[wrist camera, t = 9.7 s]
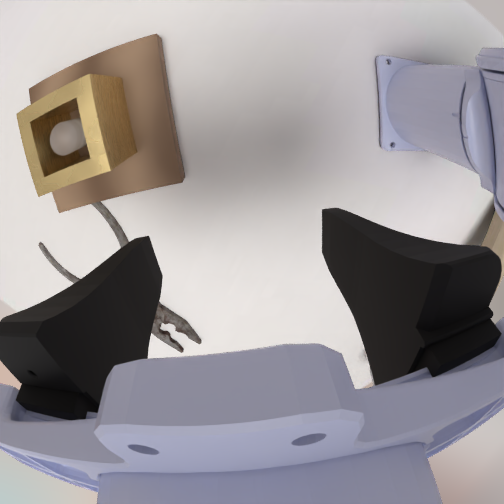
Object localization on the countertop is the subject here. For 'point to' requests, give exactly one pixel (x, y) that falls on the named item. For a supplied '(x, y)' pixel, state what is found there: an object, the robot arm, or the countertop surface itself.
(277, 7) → the countertop surface
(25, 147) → the collar
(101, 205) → the pliers
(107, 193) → the post board
